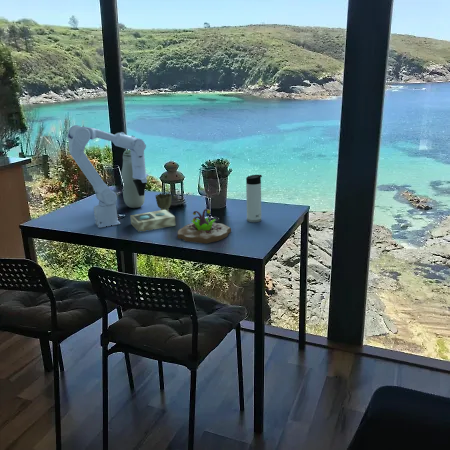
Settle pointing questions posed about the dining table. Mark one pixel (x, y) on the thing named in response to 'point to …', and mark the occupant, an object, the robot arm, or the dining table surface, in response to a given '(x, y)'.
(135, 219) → the socket block
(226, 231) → the plant
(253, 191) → the travel mug
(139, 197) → the pale grey bottle
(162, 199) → the cup
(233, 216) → the dining table surface
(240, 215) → the dining table surface
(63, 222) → the dining table surface
